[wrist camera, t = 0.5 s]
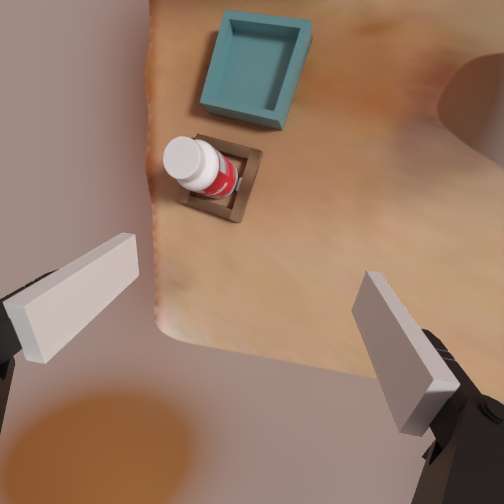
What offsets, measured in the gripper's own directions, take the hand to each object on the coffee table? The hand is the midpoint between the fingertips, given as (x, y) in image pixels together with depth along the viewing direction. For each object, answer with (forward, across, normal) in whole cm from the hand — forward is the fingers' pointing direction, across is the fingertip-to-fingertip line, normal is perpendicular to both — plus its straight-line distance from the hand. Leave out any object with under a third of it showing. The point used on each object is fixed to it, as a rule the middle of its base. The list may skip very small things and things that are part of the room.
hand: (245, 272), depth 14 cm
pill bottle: (+26, -8, 0) cm, 27 cm away
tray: (+30, -4, +14) cm, 34 cm away
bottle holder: (+26, -8, 0) cm, 27 cm away
